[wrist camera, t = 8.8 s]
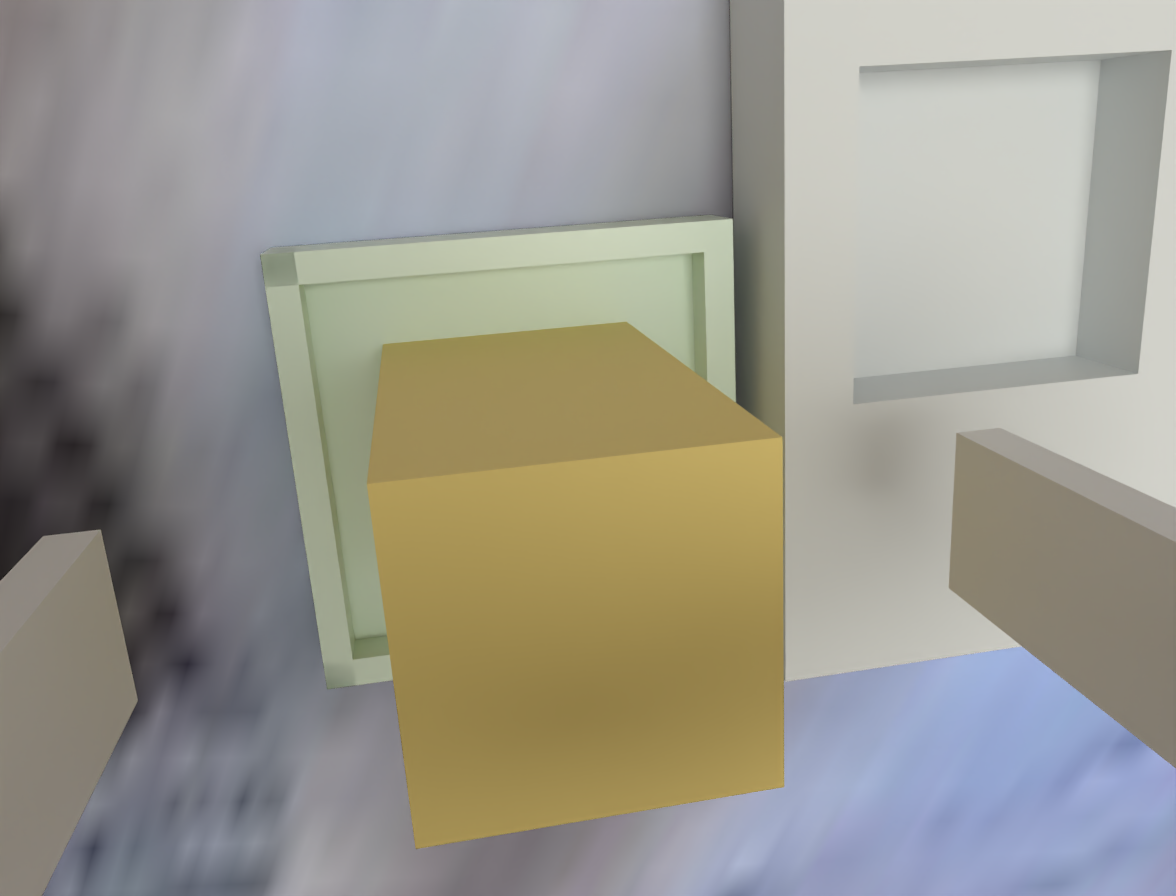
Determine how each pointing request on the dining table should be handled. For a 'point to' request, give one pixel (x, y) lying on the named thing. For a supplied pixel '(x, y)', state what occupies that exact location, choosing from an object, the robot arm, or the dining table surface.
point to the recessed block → (944, 281)
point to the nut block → (574, 580)
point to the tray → (447, 310)
